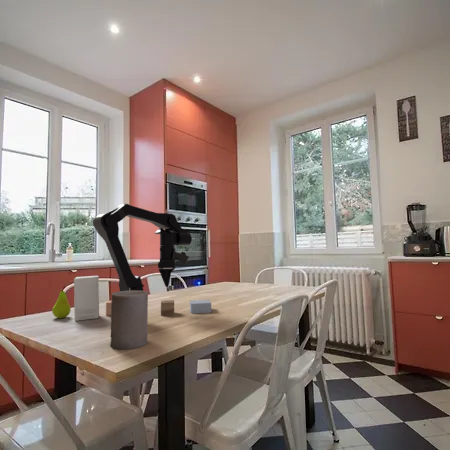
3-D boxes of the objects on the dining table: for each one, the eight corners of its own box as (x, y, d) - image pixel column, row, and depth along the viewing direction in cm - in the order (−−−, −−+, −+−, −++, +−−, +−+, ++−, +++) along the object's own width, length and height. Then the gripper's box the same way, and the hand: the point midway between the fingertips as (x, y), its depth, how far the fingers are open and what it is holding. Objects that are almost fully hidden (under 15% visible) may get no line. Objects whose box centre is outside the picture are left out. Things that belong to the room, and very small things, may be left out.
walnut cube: (174, 315, 117) (174, 302, 118) (160, 316, 117) (160, 302, 117) (174, 312, 122) (174, 300, 123) (161, 313, 122) (161, 300, 122)
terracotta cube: (119, 314, 121) (119, 301, 121) (105, 315, 119) (106, 302, 119) (118, 312, 125) (118, 299, 126) (105, 313, 123) (105, 301, 124)
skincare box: (99, 315, 119) (99, 275, 121) (98, 319, 113) (98, 276, 114) (75, 317, 117) (76, 276, 118) (73, 321, 110) (73, 277, 112)
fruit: (48, 319, 115) (49, 286, 116) (63, 315, 121) (64, 284, 121) (59, 320, 112) (59, 287, 113) (74, 317, 118) (74, 285, 119)
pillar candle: (102, 347, 80) (103, 289, 81) (127, 336, 89) (128, 284, 90) (131, 352, 76) (132, 291, 77) (155, 340, 85) (155, 286, 86)
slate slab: (211, 313, 121) (211, 302, 122) (191, 314, 120) (191, 303, 120) (208, 309, 129) (208, 299, 129) (189, 310, 128) (189, 300, 128)
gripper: (188, 245, 114) (188, 287, 112) (186, 245, 132) (187, 282, 131) (157, 245, 112) (157, 288, 111) (160, 246, 130) (160, 283, 129)
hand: (167, 285), depth 120 cm, fingers open, 9 cm apart
